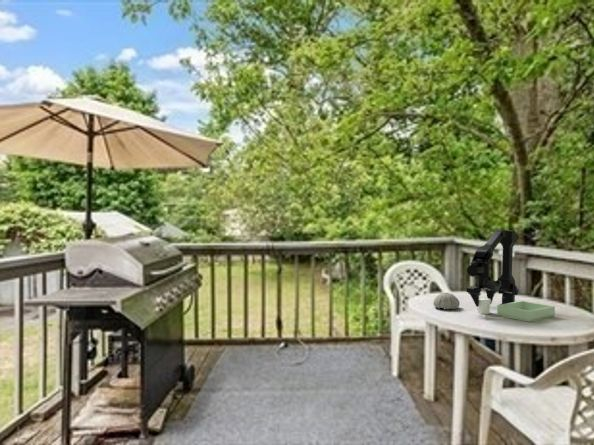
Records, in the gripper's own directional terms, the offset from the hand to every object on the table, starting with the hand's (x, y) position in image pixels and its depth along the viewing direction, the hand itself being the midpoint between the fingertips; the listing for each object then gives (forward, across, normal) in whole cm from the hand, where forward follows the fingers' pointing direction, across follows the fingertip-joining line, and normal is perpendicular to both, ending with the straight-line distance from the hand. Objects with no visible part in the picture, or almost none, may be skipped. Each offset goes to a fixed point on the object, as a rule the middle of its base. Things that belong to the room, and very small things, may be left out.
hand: (483, 305), depth 287 cm
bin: (+4, +10, -17) cm, 20 cm away
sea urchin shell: (+4, -6, +19) cm, 20 cm away
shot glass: (+4, 0, 0) cm, 4 cm away
